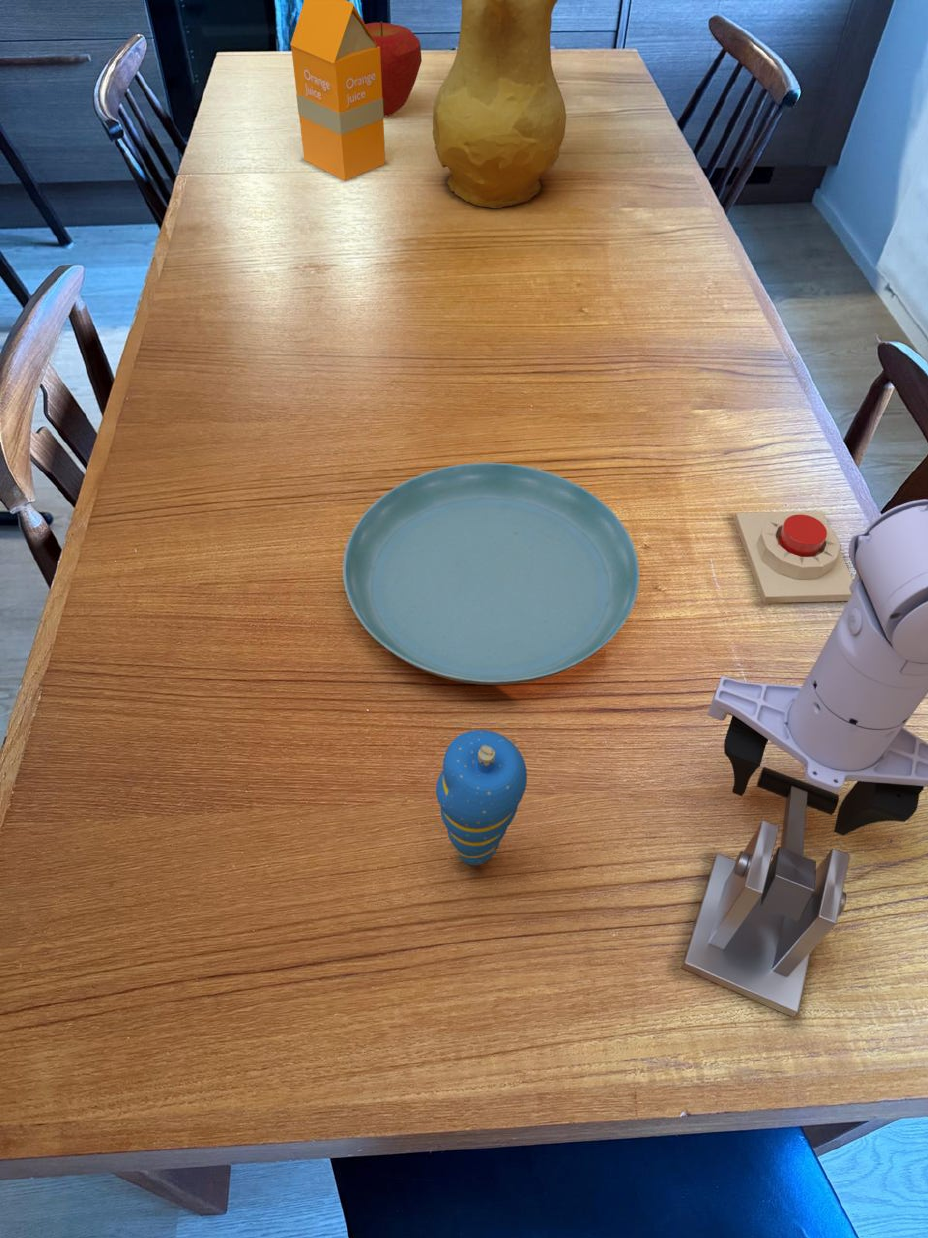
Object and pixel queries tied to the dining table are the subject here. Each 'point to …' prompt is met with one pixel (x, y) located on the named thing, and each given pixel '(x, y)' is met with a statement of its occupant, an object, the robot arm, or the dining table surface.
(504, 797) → the ornament
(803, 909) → the lever
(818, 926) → the bracket
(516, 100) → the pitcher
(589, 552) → the teal plate
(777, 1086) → the dining table surface
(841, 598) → the button block
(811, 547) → the button
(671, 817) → the dining table surface
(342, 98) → the orange juice
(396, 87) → the apple
